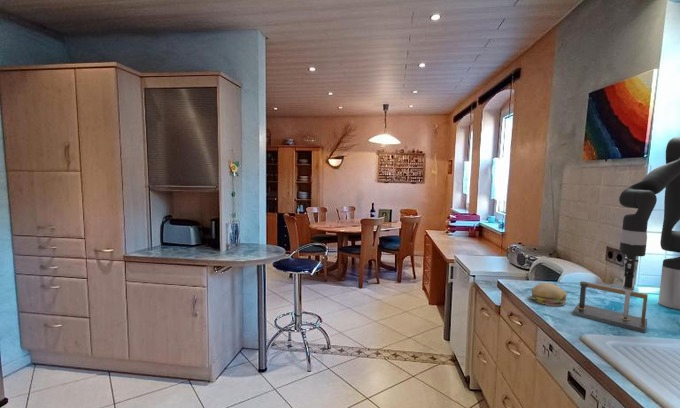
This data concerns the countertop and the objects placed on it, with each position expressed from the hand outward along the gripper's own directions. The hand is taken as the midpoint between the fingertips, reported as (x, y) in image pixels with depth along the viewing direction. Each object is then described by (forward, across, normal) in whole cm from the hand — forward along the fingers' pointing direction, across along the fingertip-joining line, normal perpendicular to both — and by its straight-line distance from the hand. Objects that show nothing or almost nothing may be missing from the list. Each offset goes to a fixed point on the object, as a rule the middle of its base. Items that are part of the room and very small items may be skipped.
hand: (628, 285), depth 129 cm
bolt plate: (+15, 0, -5) cm, 15 cm away
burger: (+15, -3, -27) cm, 31 cm away
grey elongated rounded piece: (+13, -1, 0) cm, 13 cm away
